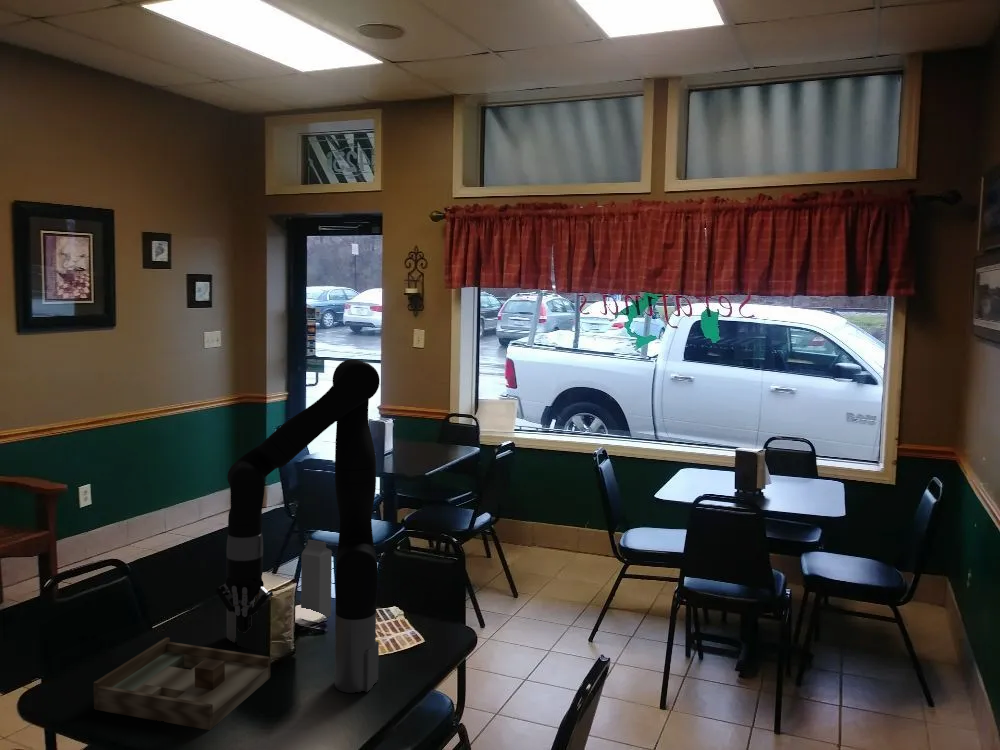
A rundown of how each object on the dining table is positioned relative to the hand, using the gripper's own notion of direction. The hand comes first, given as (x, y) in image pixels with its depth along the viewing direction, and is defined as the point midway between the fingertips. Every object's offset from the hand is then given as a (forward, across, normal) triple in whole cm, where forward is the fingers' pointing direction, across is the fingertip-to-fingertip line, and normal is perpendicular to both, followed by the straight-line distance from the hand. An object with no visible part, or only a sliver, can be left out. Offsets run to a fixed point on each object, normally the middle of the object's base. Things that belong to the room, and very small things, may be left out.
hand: (243, 630), depth 174 cm
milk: (+16, +6, -47) cm, 50 cm away
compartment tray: (+16, +14, 0) cm, 22 cm away
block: (+13, +8, 0) cm, 16 cm away
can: (+17, +18, -29) cm, 38 cm away
